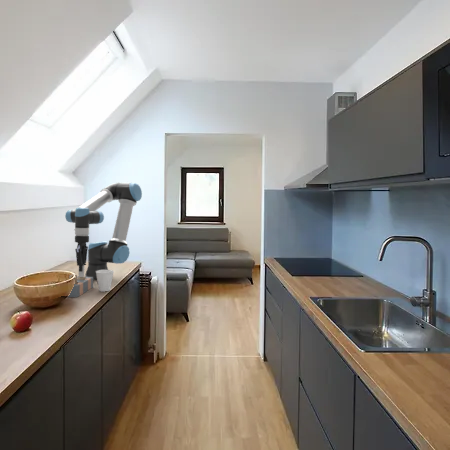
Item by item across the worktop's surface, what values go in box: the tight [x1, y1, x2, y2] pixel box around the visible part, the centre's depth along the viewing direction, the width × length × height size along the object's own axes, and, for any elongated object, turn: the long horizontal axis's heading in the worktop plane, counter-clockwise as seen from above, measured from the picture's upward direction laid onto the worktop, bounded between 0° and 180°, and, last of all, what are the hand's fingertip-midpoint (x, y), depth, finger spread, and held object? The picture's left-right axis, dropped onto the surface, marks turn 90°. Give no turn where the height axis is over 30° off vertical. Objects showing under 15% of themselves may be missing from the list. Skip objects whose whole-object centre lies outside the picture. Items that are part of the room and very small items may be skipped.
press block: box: [67, 275, 94, 298], centre depth 223 cm, size 24×9×6 cm, turn 179°
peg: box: [68, 274, 78, 284], centre depth 216 cm, size 4×4×6 cm
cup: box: [96, 269, 115, 293], centre depth 227 cm, size 10×10×11 cm
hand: (81, 276), depth 228 cm, fingers closed
